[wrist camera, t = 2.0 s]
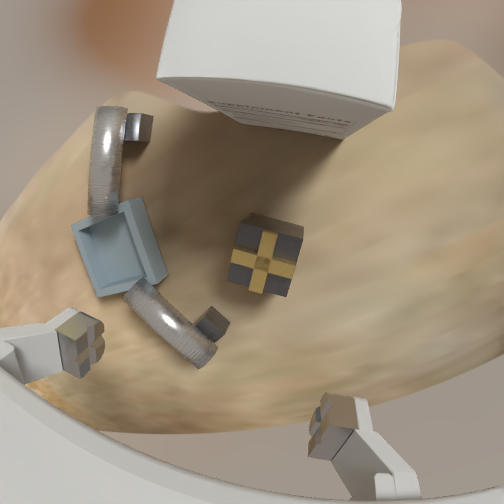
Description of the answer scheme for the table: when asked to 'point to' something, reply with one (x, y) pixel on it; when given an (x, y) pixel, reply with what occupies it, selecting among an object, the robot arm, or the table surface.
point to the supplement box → (286, 60)
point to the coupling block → (265, 254)
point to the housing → (120, 249)
